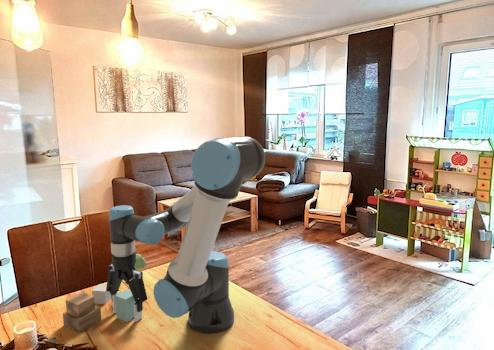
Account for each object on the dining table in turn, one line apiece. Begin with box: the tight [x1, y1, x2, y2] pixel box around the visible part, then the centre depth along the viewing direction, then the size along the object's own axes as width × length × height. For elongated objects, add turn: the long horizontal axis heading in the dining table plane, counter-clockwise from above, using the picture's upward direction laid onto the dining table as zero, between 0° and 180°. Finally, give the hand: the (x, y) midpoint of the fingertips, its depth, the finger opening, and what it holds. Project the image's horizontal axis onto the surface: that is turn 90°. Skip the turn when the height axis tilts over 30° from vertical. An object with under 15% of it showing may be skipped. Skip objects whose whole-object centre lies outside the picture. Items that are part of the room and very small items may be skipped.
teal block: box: [115, 288, 135, 323], centre depth 119 cm, size 5×5×8 cm
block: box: [91, 283, 112, 305], centre depth 129 cm, size 5×5×5 cm
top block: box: [65, 291, 96, 318], centre depth 114 cm, size 6×6×4 cm
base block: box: [62, 305, 102, 333], centre depth 115 cm, size 8×8×4 cm
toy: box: [122, 253, 147, 284], centre depth 135 cm, size 7×8×15 cm
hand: (127, 315), depth 120 cm, fingers open, 9 cm apart
